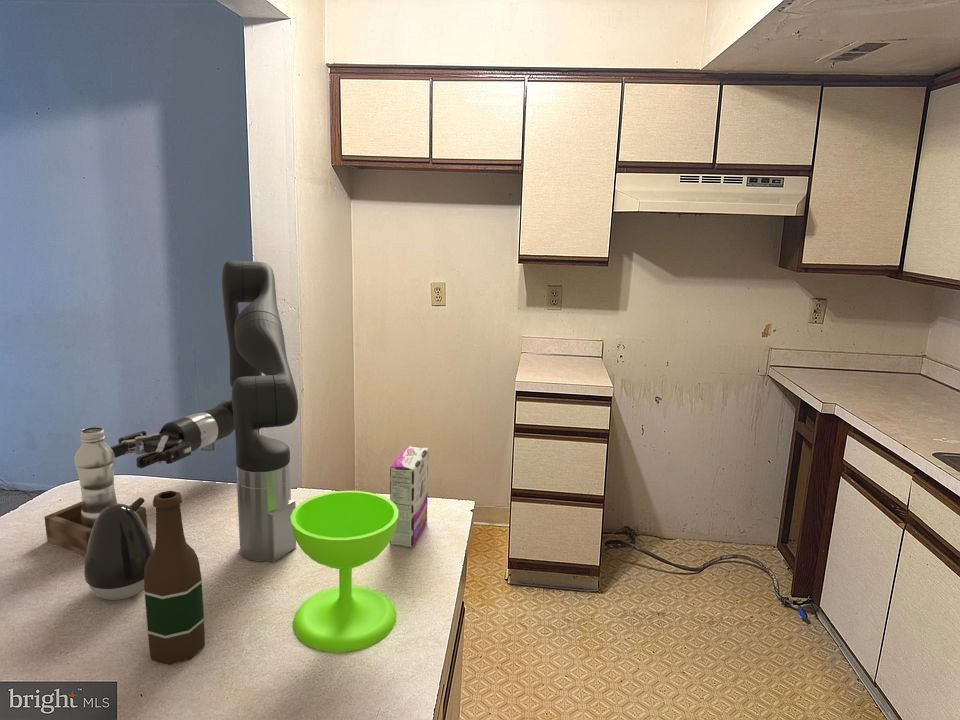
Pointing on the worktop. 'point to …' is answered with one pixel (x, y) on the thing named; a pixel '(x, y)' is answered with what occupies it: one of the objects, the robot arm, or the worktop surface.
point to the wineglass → (344, 568)
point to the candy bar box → (409, 494)
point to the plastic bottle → (95, 474)
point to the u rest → (73, 528)
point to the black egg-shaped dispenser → (117, 552)
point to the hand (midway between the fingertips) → (122, 458)
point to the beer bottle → (173, 588)
